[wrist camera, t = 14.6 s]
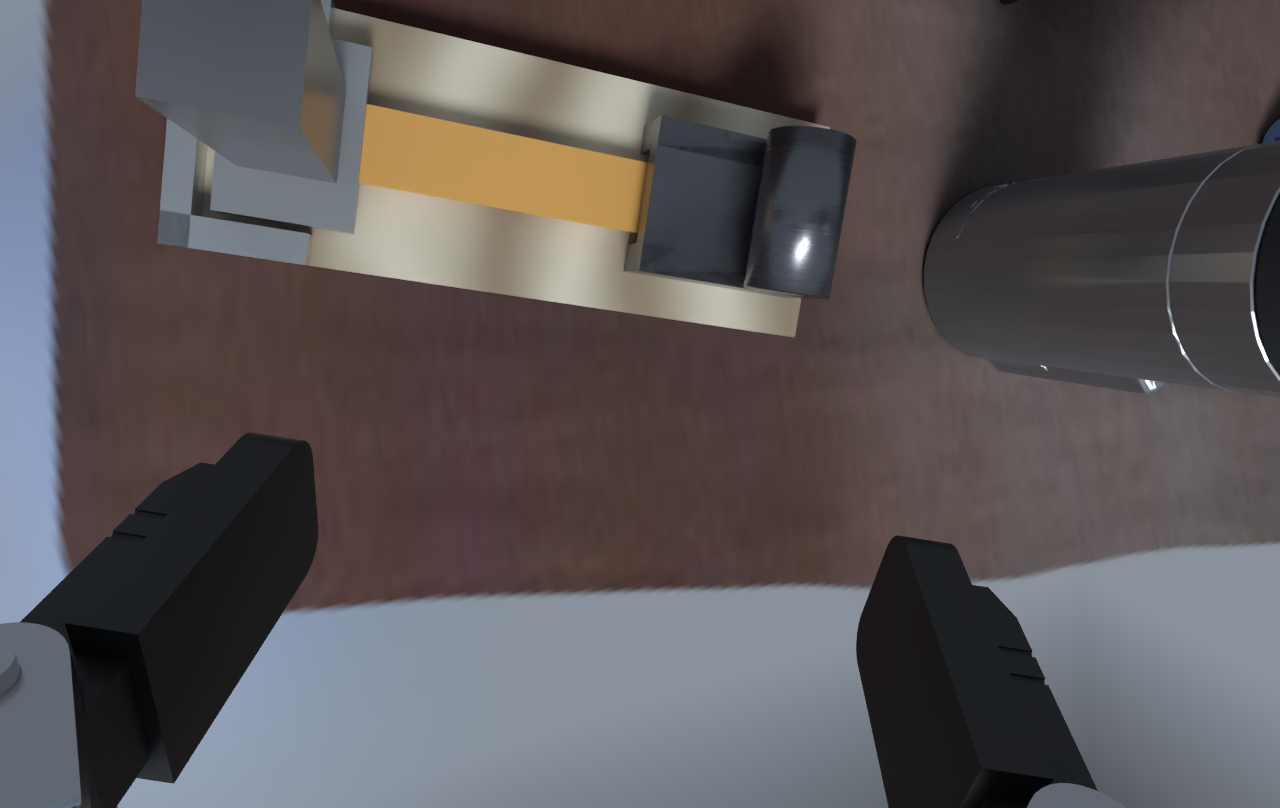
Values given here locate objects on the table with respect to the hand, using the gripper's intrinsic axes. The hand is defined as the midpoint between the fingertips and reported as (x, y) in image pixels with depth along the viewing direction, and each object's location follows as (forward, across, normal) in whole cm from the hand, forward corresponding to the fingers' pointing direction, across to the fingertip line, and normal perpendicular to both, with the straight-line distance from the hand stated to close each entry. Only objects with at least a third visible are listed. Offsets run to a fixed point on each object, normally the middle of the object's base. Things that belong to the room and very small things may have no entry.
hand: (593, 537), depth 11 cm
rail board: (+27, +6, +3) cm, 28 cm away
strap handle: (+24, +9, +2) cm, 26 cm away
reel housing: (+28, -3, +3) cm, 28 cm away
